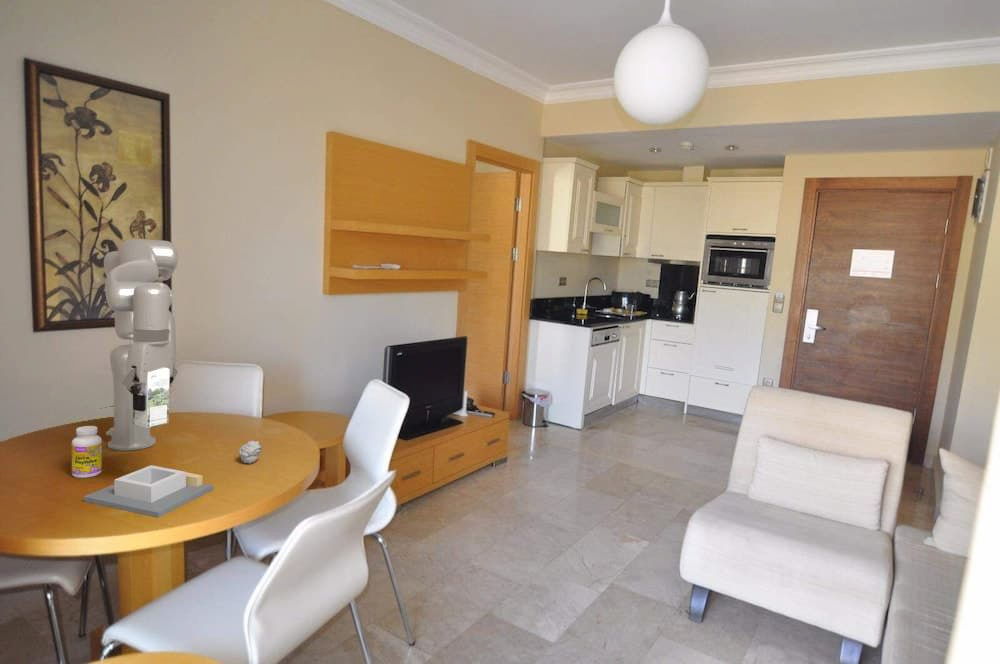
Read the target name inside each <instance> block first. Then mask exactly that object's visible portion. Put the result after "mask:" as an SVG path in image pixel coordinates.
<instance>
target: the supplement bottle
mask: <svg viewBox="0 0 1000 664" xmlns="http://www.w3.org/2000/svg"><path fill="white" fill-rule="evenodd" d="M75 429H76V430H75V434H76V437H74V438H73V439H72V441H71V475H72V477H74V478H79V479H84V478H93V477H96V476H99V474H101V473H102V469H103V468H102V467H103V462H102V461H103V459H102V458H103V452H102V451H103V450H102V449H103V439H102V437H101V436H100V435H97V433H98V426H96V425H85V426H79V427H77V428H75Z"/></svg>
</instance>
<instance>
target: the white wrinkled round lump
mask: <svg viewBox="0 0 1000 664" xmlns="http://www.w3.org/2000/svg"><path fill="white" fill-rule="evenodd" d="M262 450H263V448H262V446H261V445H260V442H259V441H258V440H256V441H254V440H249V441H247V443H245V444H242V445H241V446H240V447H239V450H238V456H239V458H240V459H241V461H242V462H243V463H244V464H253V463H255V462H256V461H257V460H258V458H259V456H260V453H261V452H262Z"/></svg>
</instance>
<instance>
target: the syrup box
mask: <svg viewBox="0 0 1000 664" xmlns="http://www.w3.org/2000/svg"><path fill="white" fill-rule="evenodd" d="M169 378H170V370H169V369H168V368H164V369H160V370H155V371H152V372H148V377H147V383H146V384H145V390H144V393H143V395H145V396H146V410H145V411H137V410H133V424H134V425H137V426H141V427H144V428H150V429H151V428H156V427H158V426H163V425H167V424H168V425H169V422H170V421H169V418H170V415H169V413H170V412H169V411H170V389H169ZM139 388H140V385H138V389H139Z"/></svg>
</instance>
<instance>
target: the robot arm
mask: <svg viewBox="0 0 1000 664" xmlns="http://www.w3.org/2000/svg"><path fill="white" fill-rule="evenodd" d="M178 261H179V254H178V250H177V248H176V246H175V245H174V244H173V243H172V242H171V241H168V240H161V239H160V240H159V239H147V238H130V239H127V240H124V241H123V242H121V244H120V245H119V247H118V250H114V251H110V252H107V253H106V254H105V255H104V258H103V269H104V272H105V273H104V274H105V276H106V278H105V281H104V290H105V291H104V293H105V299H106V303H107V305H108V306H107V307H109V308H110V309H111V310H112V311H114V330H115V333H116V335H117V337H118V338H119V339H122V340H128V341H132V342H130V343H129V344H123V345H117V346H116V347H114V348H113V349H112V350H111V351H110V354H109V364H110V368H111V375H112V383H113V384H112V385H113V386H112V387H113V426H112V427H110V428H109V430H107V431H106V432H105V435H106V436H109V437H111V439H110V440H109V441H108V442H107V448H109V449H111V450H114V451H123V452H124V451H125V452H126V451H136V450H142V449H147V448H149V447H152V446H154V445H155V444H156V438H155V437H154V436H152V435H151V428H144V427H141V426H137V425H134V424H133V410H137V411H145V410H146V396H145V395H143V393H144V390H145V384H146V383H147V377H148V372H152V371H155V370H160V369H164V368H168V369H169V370H170V378H169V390H170V389H171V388H172V387H171V386H172V383H173V382H174V380H175V378H176V376H177V374H178V369H177V368H176V366H177V341H176V340H177V339H176V338H177V337H176V336H177V335H176V322H175V317H174V315H173V313H172V312H171V311H170V310H169V308H170V306H172V305H173V300H174V295H173V291H172V289H170V286H169V285H167V283H163V282H159V281H167V280H169V279H171V278H172V276H173V274H174V272H175V270H176V269H177V266H178ZM155 281H157V282H155ZM138 385H140V388H139V389H138Z"/></svg>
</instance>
